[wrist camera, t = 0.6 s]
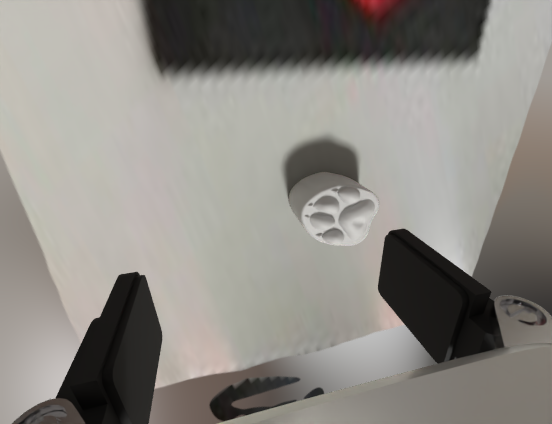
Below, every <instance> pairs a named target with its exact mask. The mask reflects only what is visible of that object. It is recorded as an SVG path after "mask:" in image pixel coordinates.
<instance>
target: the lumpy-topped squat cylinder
mask: <svg viewBox="0 0 552 424" xmlns="http://www.w3.org/2000/svg"><path fill="white" fill-rule="evenodd" d="M289 204H290V207H291V209H292V211H293V213H294V214H295V216H296V217H297V218H298V220H299V221H300V223H301V224H302V226H303V227H304V228H305V230H306V231H307V232H308V233H309V234H310V235H311V236H312V237H313V238H315V239H316V240H317V241H319V242H323V243H327V244H331V245H344V246H350V245H356V244H358V243H360V242H361V241H363V240H364V239H365V238H366V236H367V234H368V232H369V228H370V224H371V222H372V220H373V218H374V216H375V214H376V213H377V211H378V209H379V200H378V198H377V196H376V195H375V194H374V193H373V192H371V191H370V190H368V189H367V188H365V187H363V186H362V185H360V184H359V183H357V182H356V181H354V180H352V179H351V178H348V177H345V176H342V175H339V174H335V173H329V172H320V173H316V174H313V175H310V176H307V177H305V178H303V179H302V180H300V181H299V182H298V183H297V184H296V185H295V186H294V187H293V188H292V189H291V191H290V194H289Z"/></svg>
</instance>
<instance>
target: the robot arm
mask: <svg viewBox="0 0 552 424" xmlns="http://www.w3.org/2000/svg"><path fill="white" fill-rule="evenodd" d="M378 290H379V293H380V295H381V296H382V297H383V299H384V300H385V301H386V302H387V303H388V305H389V306H390V307H391V308H392V309H393V311H394V312H395V313H396V314H397V316H398V317H399V318H400V319H401V320H402V322H403V323H404V324H405V325H406V326H407V328H408V329H409V330H410V331H411V332H412V334H413V335H414V336H415V337H416V338H417V340H418V341H419V342H420V343H421V345H423V347H424V348H425V349H426V351H427V352H428V353H429V354H430V355H431V357H432V358H433V359H434V360H435V361H436V362H437V363H438V364H436V365H431V366H428V367H424V368H420V369H416V370H412V371H409V372H405V373H401V374H397V375H393V376H390V377H386V378H382V379H379V380H375V381H371V382H368V383H364V384H360V385H356V386H352V387H349V388H345V389H341V390H338V391H334V392H330V393H327V394H323V395H319V396H316V397H312V398H308V399H304V400H301V401H297V402H294V403H290V404H286V405H283V406H279V407H276V408H272V409H268V410H265V411H261V412H257V413H254V414H250V415H247V416H243V417H239V418H236V419H232V420H229V421H225V422H221V423H218V424H552V317H551V316H550V314H549V313H548V312H547V311H545V310H544V309H543V308H542V307H540V306H538V305H537V304H535V303H533V302H531V301H528V300H526V299H523V298H519V297H516V296H509V295H508V296H500V297H497V298H496V299H495V301H493V300H491V299H490V298H489V297H490V294H491V291H490V290H488V289H487V288H486V287H484V286H483V285H482V284H480V283H479V282H477V281H476V280H475V279H473V278H472V277H471V276H469V275H468V274H467V273H465V272H464V271H463V270H461V269H460V268H458V267H457V266H456V265H454V264H453V263H452V262H450V261H449V260H447V259H446V258H445V257H443V256H442V255H441V254H439V253H438V252H436V251H435V250H434V249H432V248H431V247H430V246H428V245H427V244H425V243H424V242H423V241H421V240H420V239H419V238H417V237H416V236H415V235H413V234H412V233H410V232H409V231H408V230H406V229H398V230H392V231H390V232H389V233H388V235H386V237H385V241H384V248H383V255H382V262H381V269H380V276H379V283H378ZM161 344H162V331H161V327H160V324H159V320H158V317H157V313H156V310H155V307H154V303H153V300H152V297H151V293H150V290H149V287H148V283H147V280H146V277H145V275H139V273H138V272H133V273H127V274H121V275H119V276H118V278H117V280H116V282H115V284H114V287H113V289H112V291H111V293H110V296H109V298H108V300H107V302H106V305H105V307H104V309H103V312H102V314H101V316H100V318H95V319H94V320H93V321H92V323H91V324H90V326H89V328H88V330H87V332H86V335H85V337H84V339H83V341H82V343H81V345H80V347H79V349H78V352H77V354H76V356H75V358H74V360H73V362H72V364H71V367H70V369H69V371H68V373H67V375H66V377H65V380H64V381H63V384H62V386H61V388H60V390H59V392H58V394H57V396H56V399H50V400H47V401H45V402H42V403H40V404H37V405H36V406H34V407H32V408H31V409H29V410H27V411H26V412H25V413H23V414H22V415H21V416H20V417H19V418H17V419H16V420H15V421H14V422H13V423H12V424H148V423H149V417H150V411H151V405H152V399H153V392H154V387H155V381H156V375H157V368H158V362H159V356H160V350H161Z"/></svg>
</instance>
